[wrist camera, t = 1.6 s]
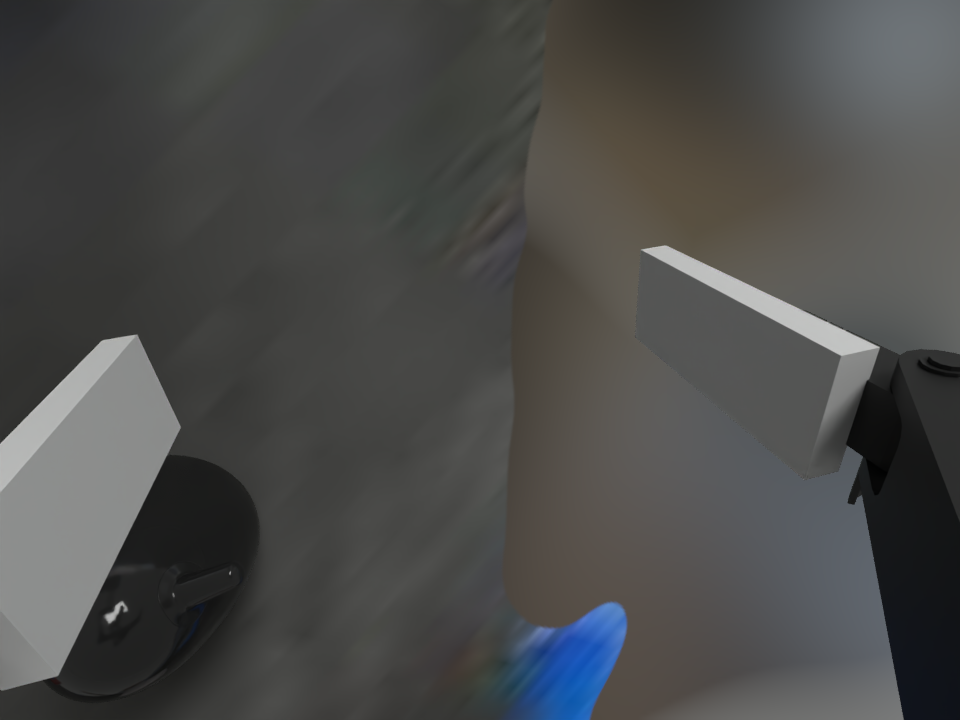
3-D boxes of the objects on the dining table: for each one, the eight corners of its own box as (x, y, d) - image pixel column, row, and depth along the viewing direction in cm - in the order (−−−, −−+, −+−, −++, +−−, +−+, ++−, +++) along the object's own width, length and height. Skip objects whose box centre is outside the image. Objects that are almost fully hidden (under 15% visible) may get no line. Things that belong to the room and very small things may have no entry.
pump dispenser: (291, 538, 36) (297, 679, 22) (136, 625, 32) (24, 856, 18) (220, 412, 33) (176, 477, 19) (47, 492, 30) (-157, 639, 16)
